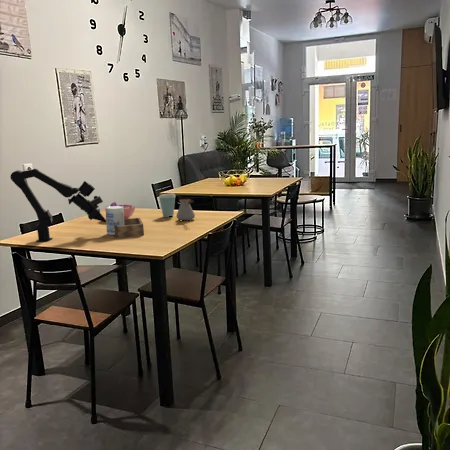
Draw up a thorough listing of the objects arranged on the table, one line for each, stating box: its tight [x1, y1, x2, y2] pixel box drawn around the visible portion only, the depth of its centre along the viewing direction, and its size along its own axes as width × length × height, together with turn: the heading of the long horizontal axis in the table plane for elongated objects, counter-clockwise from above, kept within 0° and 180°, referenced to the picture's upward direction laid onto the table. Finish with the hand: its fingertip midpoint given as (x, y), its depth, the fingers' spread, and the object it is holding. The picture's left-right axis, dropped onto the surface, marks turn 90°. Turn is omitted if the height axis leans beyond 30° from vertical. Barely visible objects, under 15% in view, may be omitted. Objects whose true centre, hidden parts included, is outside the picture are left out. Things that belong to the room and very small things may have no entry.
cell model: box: [103, 201, 136, 219], centre depth 287 cm, size 17×20×11 cm
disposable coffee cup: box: [158, 192, 176, 218], centre depth 292 cm, size 11×11×15 cm
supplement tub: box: [105, 205, 124, 236], centre depth 247 cm, size 10×10×15 cm
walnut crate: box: [114, 217, 145, 239], centre depth 250 cm, size 15×21×7 cm
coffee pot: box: [176, 198, 196, 221], centre depth 273 cm, size 21×12×15 cm, turn 21°
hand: (105, 221), depth 246 cm, fingers closed, pressing on supplement tub
